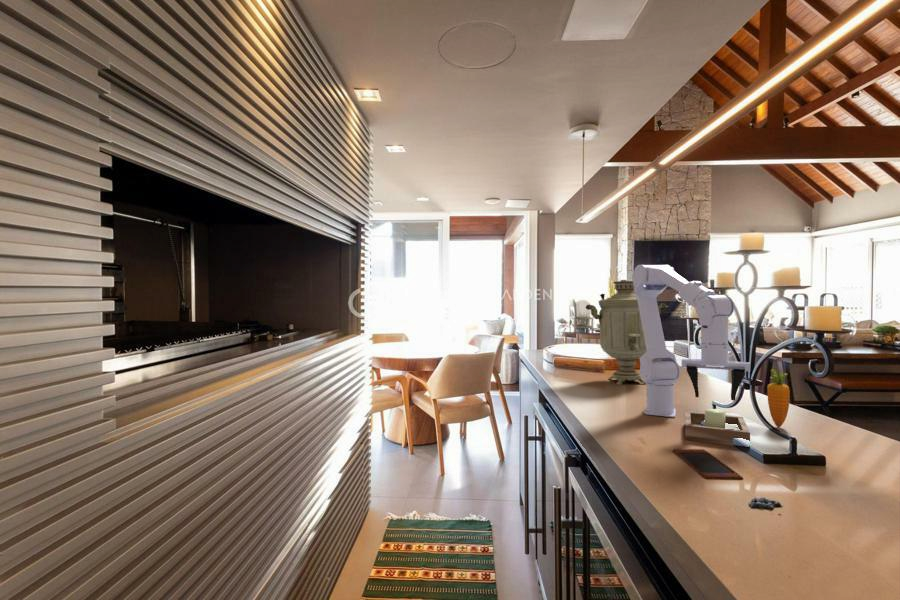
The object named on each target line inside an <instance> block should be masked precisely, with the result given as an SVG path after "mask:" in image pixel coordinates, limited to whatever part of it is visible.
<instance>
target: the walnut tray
mask: <svg viewBox="0 0 900 600" xmlns="http://www.w3.org/2000/svg"><path fill="white" fill-rule="evenodd" d="M684 414H685V415H684V420H685V421H684V422H685V423H684V425H685V426H684V427H685V428H684V431H685V435H684V436H685V441H692V442H701V443H708V444H717V445H724V446H731V447H735V446H734V444H733V441H732V440H733V438H743V439H746V440H749V441H750V442H751V432H750V429H749V428H748V425H747V423H746V421H745V419H744V417H743V416H738V415H737V416H736V415H726V414H725V423H728V424H737V425H738V427H739V429H740V430H734V429H725V428H716V427H707V426H705V425H703V424H701V422H702V421H704V420H705V412H697V411H696V412H695V411H688V410H687V411H686V410H685V412H684Z"/></svg>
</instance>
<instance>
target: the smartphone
mask: <svg viewBox="0 0 900 600" xmlns="http://www.w3.org/2000/svg"><path fill="white" fill-rule="evenodd" d="M672 452H673V453H674V454H675V455H676V456H677V457H678V458H680V459H681V460H682V461H683V462H684V463H685V464H687V465H688V466H689V467H690V468H691V469H692V470H694V471H695V472H697V474H699V476H701V477H702V479H703V478H704V479H705V480H725V481H727V480H728V481H729V480H730V481H732V480H733V481H736V480H737V481H742V480H744V478H743V476H741V475H740V474H739V473H738V472H737V471H735V470H734V469H733V468H731V467H729V466H728V465H727V464H726V463H724V462H723V461H722V460H720V459H719V458H718V457H716V456H714V455H713V454H711V453H710V452H708V451H707V450H705V449H698V448H697V449H691V448H690V449H686V448H685V449H684V448H683V449H682V448H679V449H678V448H676V449H675V448H674V449H672Z"/></svg>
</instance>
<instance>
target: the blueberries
mask: <svg viewBox="0 0 900 600" xmlns="http://www.w3.org/2000/svg"><path fill="white" fill-rule="evenodd" d="M747 504H748V507H749V508H750V509H756V510H757V509H760V510H769V511H773V510H774V509H776V508H780V509H781V508H783V505H782V504H781V502H780V501H777V500H773V499H771V498H766V497H763V496H762V497H756V496H755V497H754V498H752V499H751V501H750V502H749V503H747ZM779 515H782V514H781V513H779Z"/></svg>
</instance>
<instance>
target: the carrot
mask: <svg viewBox="0 0 900 600" xmlns="http://www.w3.org/2000/svg"><path fill="white" fill-rule="evenodd" d="M770 372H771V374H772V376H770V377H769V378H770V379H771V380H772V381H773V382H772V383H769V384H767V388H766V389H767V404H768V409H769V413H770V416H771V419H772V421H773V423H774V425H775V426H776V427H777V428H781V427H782V425H783V424H784V423H785V421H786V419H787V416H788V412H789V408H790V397H791V395H790V393H791V390H790V387H789V386H788V385H787V384H786V383H784V380H785V379H786V377H787V376H788V373H783V372H781V371H779V372H778V373H777V371H776V369H773V368H772V369H771V370H770Z"/></svg>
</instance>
